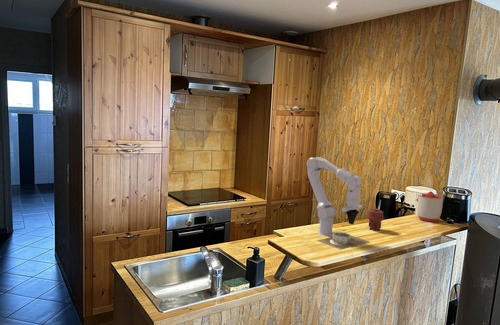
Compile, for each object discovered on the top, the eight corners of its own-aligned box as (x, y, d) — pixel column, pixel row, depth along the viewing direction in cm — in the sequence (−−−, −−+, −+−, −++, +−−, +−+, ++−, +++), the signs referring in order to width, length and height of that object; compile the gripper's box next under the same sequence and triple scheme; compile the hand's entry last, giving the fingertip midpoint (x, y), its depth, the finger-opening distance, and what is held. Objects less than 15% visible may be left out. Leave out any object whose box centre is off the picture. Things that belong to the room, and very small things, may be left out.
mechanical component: (386, 231, 219) (372, 232, 217) (376, 226, 229) (362, 227, 226) (388, 211, 218) (373, 211, 215) (378, 207, 228) (364, 207, 225)
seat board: (346, 235, 208) (346, 234, 208) (370, 243, 195) (370, 242, 195) (316, 241, 194) (316, 240, 194) (340, 250, 181) (340, 249, 181)
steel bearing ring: (339, 238, 199) (339, 231, 199) (353, 243, 192) (354, 235, 192) (328, 241, 193) (329, 233, 193) (343, 246, 186) (343, 238, 186)
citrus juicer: (419, 215, 265) (422, 188, 263) (445, 221, 252) (448, 192, 249) (409, 218, 255) (411, 189, 253) (434, 224, 242) (437, 194, 240)
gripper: (350, 201, 188) (348, 227, 189) (367, 198, 196) (366, 223, 197) (339, 198, 193) (337, 224, 195) (357, 196, 202) (355, 220, 203)
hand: (351, 223), depth 196 cm, fingers closed
